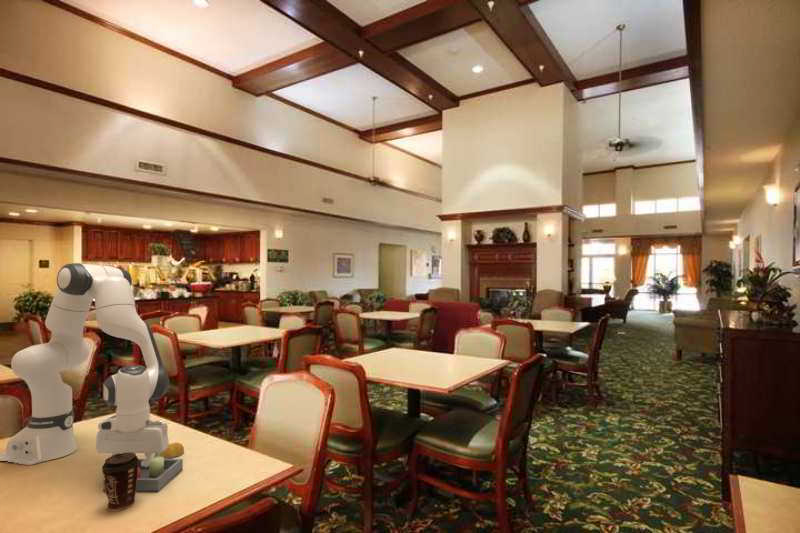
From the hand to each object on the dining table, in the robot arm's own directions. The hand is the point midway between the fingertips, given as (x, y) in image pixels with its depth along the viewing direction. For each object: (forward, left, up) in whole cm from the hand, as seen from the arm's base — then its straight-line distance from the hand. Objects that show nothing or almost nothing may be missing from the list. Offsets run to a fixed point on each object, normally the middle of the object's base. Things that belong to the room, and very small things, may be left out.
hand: (132, 466), depth 132 cm
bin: (+3, +2, -5) cm, 6 cm away
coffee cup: (+4, -12, -5) cm, 13 cm away
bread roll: (0, +20, -6) cm, 21 cm away
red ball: (0, 0, -2) cm, 2 cm away
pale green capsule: (+5, +4, -4) cm, 8 cm away
